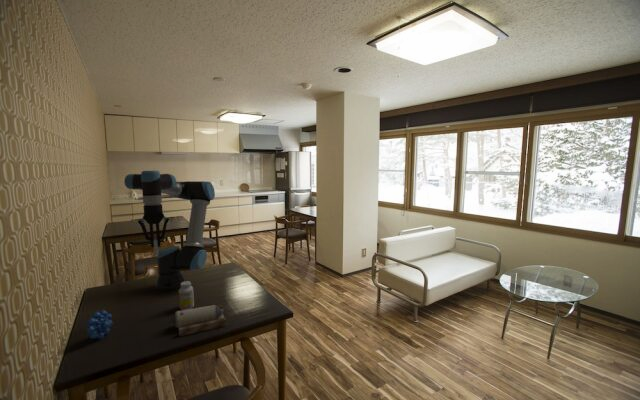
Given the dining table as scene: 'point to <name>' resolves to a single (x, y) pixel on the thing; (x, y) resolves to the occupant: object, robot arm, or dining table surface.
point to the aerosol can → (197, 315)
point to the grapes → (99, 324)
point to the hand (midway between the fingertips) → (156, 253)
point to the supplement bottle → (186, 296)
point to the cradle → (203, 325)
